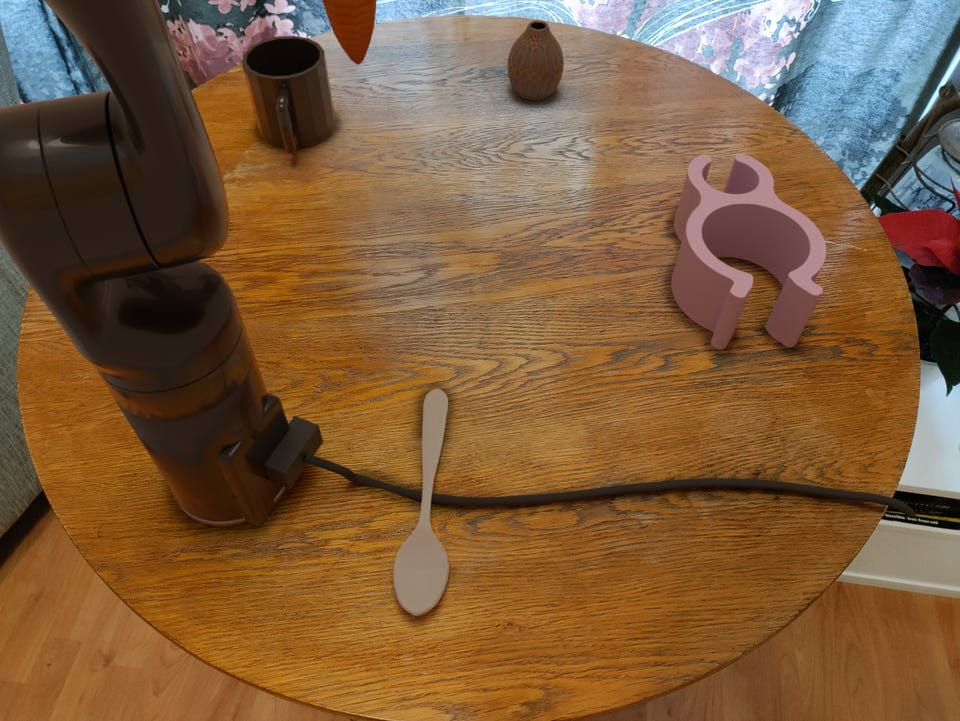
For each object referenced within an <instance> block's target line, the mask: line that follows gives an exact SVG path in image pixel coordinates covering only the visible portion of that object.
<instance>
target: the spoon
mask: <svg viewBox="0 0 960 721" xmlns="http://www.w3.org/2000/svg"><path fill="white" fill-rule="evenodd" d="M422 410H423V411H422V427H421V428H422V429H421V463H422V491H421V492H422V501H421V503H420V512H419V517H418V522H417V524H416V526H415V528H414V530H413V531H412V532H411V533H410V535H409V536H408V537H407V538H406V539H405V541H404V542H403V543H402V544H401V546H400V547H399V549H398V550H397V552H396V555H395V558H394V561H393V565H392V582H393V587H394V588H393V590H394V594H395V596H396V599H397V601H398V603H399V605H400V607H401V608H402V609H404V611H405V612H407V613H409V614H410V615H412V616H417V617H418V616H421V615H423V614H426V613H428V612H429V611H430V610H432V609H433V608H434V607H435V606H436V605H437V604H438V602H439V601H440V599H441V598H442V596H443V594H444V592H445V589H446V586H447V584H448V581H449V575H450V574H449V573H450V562H449V555H448V553H447V551H446V549H445V547H444V545H443V543H442V542H441V541H440V539H439V538H438V537H437V536H436V534H435V533H434V531H433V529H432V524H431V506H432V502H431V497H432V493H433V489H434V482H435V476H436V472H437V468H438V464H439V460H440V457H441V452H442V448H443V443H444V437H445V430H446V422H447V417H448V416H447V415H448V410H449V399H448V395H447V393H445V391H444V390H442V389H440V388H434V389H432V390H430V391H429V392H428V393H426V395H425V397H424V400H423V405H422Z"/></svg>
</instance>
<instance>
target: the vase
mask: <svg viewBox="0 0 960 721" xmlns="http://www.w3.org/2000/svg"><path fill="white" fill-rule="evenodd" d="M564 61H565V60H564V54H563V48H562V47H561V45H560V42H559V41H558V40H557V38H556V37H555V35H554V34H553V33H552V31H551V29H550V26H549V24H548V23H547V22H546V21H544V20H539V19H538V20H537V19H536V20H532V21H530V22H529V23H528V24H527V26H526V28H525V30H524V31H523V32H522V33H521V34H520V35H519V37H518V38H516V40H515V41H514V42H513V44H512V46H511V48H510V51H509V54H508V58H507V77H508V80H509V83H510V86H511V88H512V89H513V90H514V92H515V93H516V94H517V95H518V96H519V97H521V98H522V99H525V100H529V101H542V100H544V99H547V98H548V97H549V96H551V95H552V94H553V93H554V92H555V91H556V90H557V89H558V87H559V85H560V84H561V80H562V78H563V74H564V66H565V65H564V64H565V62H564Z"/></svg>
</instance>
